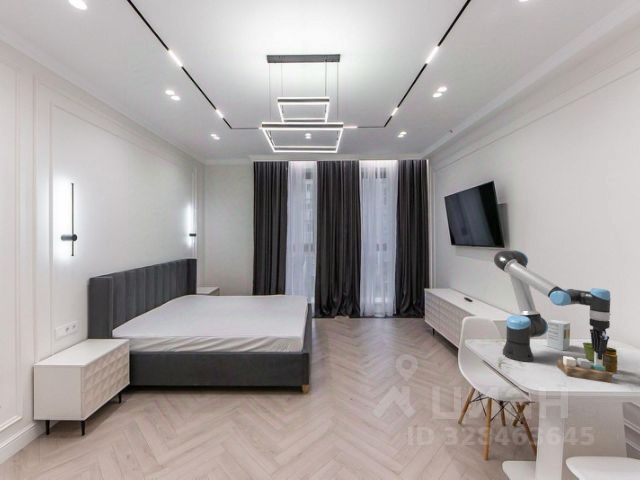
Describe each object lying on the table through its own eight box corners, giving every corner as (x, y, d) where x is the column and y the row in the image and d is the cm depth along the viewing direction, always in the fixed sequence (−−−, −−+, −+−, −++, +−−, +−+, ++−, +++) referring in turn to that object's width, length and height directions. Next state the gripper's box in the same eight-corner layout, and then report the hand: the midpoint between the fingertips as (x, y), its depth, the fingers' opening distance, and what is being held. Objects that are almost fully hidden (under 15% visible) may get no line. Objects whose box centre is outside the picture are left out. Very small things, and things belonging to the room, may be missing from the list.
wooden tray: (567, 375, 150) (567, 368, 150) (557, 366, 161) (557, 359, 161) (612, 382, 144) (612, 374, 144) (598, 372, 155) (599, 365, 155)
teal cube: (595, 374, 149) (595, 366, 149) (591, 370, 153) (591, 363, 153) (605, 375, 148) (605, 367, 148) (600, 372, 152) (600, 364, 152)
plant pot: (608, 364, 167) (608, 349, 167) (589, 362, 168) (589, 347, 168) (596, 357, 176) (596, 343, 176) (578, 356, 178) (578, 341, 178)
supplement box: (563, 351, 186) (563, 324, 185) (546, 346, 194) (546, 320, 194) (569, 348, 190) (570, 322, 190) (553, 343, 198) (553, 319, 198)
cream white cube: (566, 366, 153) (566, 358, 153) (562, 363, 157) (563, 356, 157) (575, 367, 152) (575, 360, 152) (572, 364, 156) (572, 357, 156)
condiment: (621, 373, 155) (622, 350, 155) (609, 374, 154) (610, 351, 154) (605, 367, 163) (605, 345, 163) (593, 368, 161) (594, 346, 161)
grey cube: (580, 368, 151) (580, 360, 151) (576, 365, 155) (577, 357, 155) (590, 369, 150) (590, 362, 150) (586, 366, 154) (586, 359, 154)
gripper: (616, 323, 143) (615, 371, 143) (601, 316, 155) (600, 361, 155) (597, 321, 146) (595, 368, 146) (584, 315, 158) (582, 359, 158)
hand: (598, 364), depth 150 cm, fingers closed
